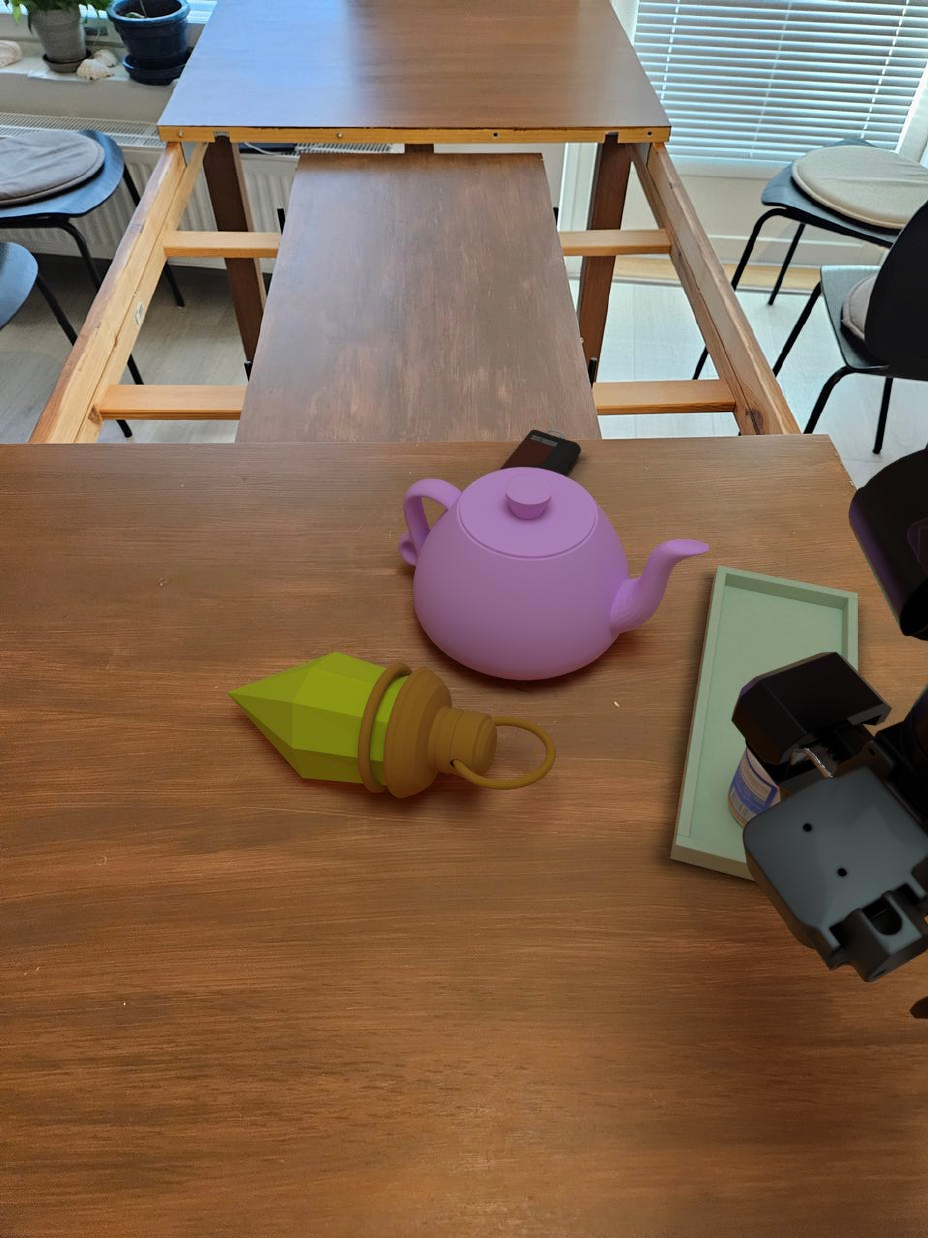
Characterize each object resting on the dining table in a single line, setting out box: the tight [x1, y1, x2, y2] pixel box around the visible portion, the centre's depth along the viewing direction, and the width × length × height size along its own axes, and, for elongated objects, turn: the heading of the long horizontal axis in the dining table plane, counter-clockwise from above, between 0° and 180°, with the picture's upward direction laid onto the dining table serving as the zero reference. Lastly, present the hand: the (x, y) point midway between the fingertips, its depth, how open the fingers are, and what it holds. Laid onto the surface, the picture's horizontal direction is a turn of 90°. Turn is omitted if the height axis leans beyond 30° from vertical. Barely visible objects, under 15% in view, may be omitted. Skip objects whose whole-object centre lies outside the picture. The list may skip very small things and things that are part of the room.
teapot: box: [397, 467, 710, 681], centre depth 70 cm, size 25×18×14 cm
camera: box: [499, 427, 582, 476], centre depth 86 cm, size 6×3×11 cm
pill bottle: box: [728, 747, 780, 827], centre depth 59 cm, size 5×5×10 cm
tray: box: [669, 564, 859, 882], centre depth 67 cm, size 28×12×2 cm, turn 163°
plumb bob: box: [226, 651, 557, 799], centre depth 62 cm, size 9×9×25 cm
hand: (852, 922), depth 44 cm, fingers open, 9 cm apart
